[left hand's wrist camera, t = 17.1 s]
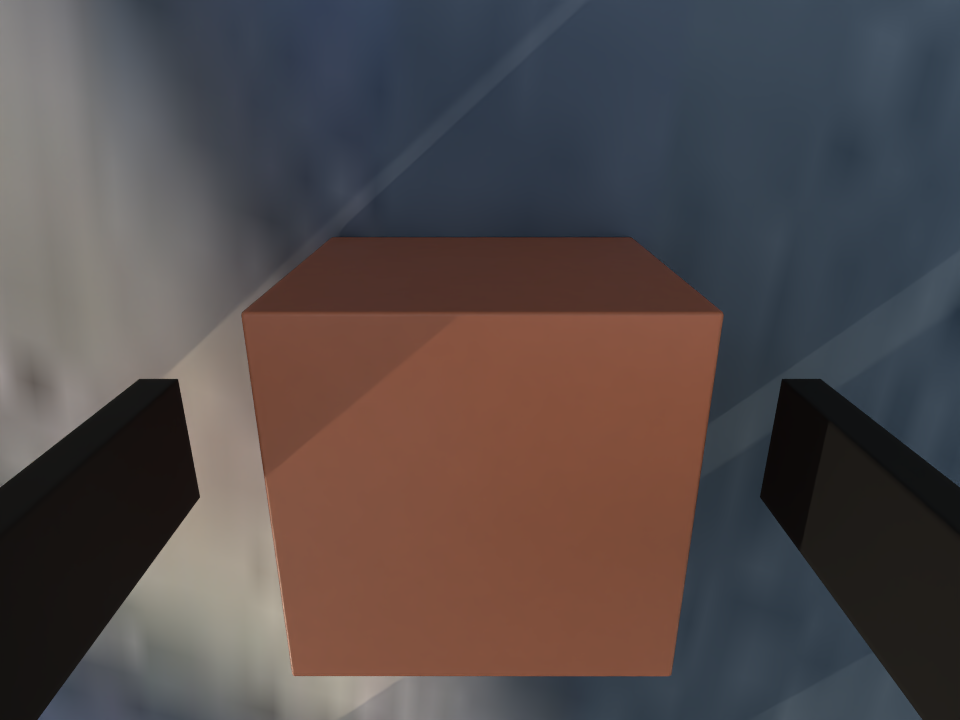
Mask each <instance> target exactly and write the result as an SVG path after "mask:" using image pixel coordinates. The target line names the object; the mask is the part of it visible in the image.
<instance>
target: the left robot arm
mask: <svg viewBox="0 0 960 720" xmlns="http://www.w3.org/2000/svg"><path fill="white" fill-rule="evenodd" d="M199 498H200V494H199V489H198V484H197V478H196V473H195V468H194V462H193V457H192V452H191V446H190V441H189V436H188V430H187V425H186V420H185V414H184V409H183V403H182V398H181V393H180V387H179V382H178V379H139V380H138V381H136V382H135V383H134V384H133V385H131V386H130V387H129V388H127V389H126V390H125V391H124V392H122V393H121V394H120V395H118V396H117V397H116V398H115V399H113V400H112V401H111V402H109V403H108V404H107V405H106V406H104V407H103V408H102V409H100V410H99V411H98V412H97V413H95V414H94V415H93V416H91V417H90V418H89V419H88V420H86V421H85V422H84V423H82V424H81V425H80V426H79V427H77V428H76V429H75V430H73V431H72V432H71V433H70V434H68V435H67V436H66V437H64V438H63V439H62V440H61V441H59V442H58V443H57V444H55V445H54V446H53V447H52V448H50V449H49V450H48V451H47V452H45V453H44V454H43V455H41V456H40V457H39V458H38V459H36V460H35V461H34V462H32V463H31V464H30V465H29V466H27V467H26V468H25V469H23V470H22V471H21V472H20V473H18V474H17V475H16V476H14V477H13V478H12V479H11V480H9V481H8V482H7V483H5V484H4V485H3V486H2V487H0V720H37V719H38V718H39V717H40V715H41V714H42V713H43V711H44V710H45V709H46V707H47V706H48V704H49V703H50V702H51V700H52V699H53V698H54V696H55V695H56V693H57V692H58V691H59V689H60V688H61V687H62V685H63V684H64V683H65V681H66V680H67V678H68V677H69V676H70V674H71V673H72V672H73V670H74V669H75V667H76V666H77V665H78V663H79V662H80V661H81V659H82V658H83V657H84V655H85V654H86V652H87V651H88V650H89V648H90V647H91V646H92V644H93V643H94V641H95V640H96V639H97V637H98V636H99V635H100V633H101V632H102V631H103V629H104V628H105V626H106V625H107V624H108V622H109V621H110V620H111V618H112V617H113V615H114V614H115V613H116V611H117V610H118V609H119V607H120V606H121V605H122V603H123V602H124V600H125V599H126V598H127V596H128V595H129V594H130V592H131V591H132V589H133V588H134V587H135V585H136V584H137V583H138V581H139V580H140V579H141V577H142V576H143V574H144V573H145V572H146V570H147V569H148V568H149V566H150V565H151V563H152V562H153V561H154V559H155V558H156V557H157V555H158V554H159V553H160V551H161V550H162V548H163V547H164V546H165V544H166V543H167V542H168V540H169V539H170V537H171V536H172V535H173V533H174V532H175V531H176V529H177V528H178V527H179V525H180V524H181V522H182V521H183V520H184V518H185V517H186V516H187V514H188V513H189V511H190V510H191V509H192V507H193V506H194V505H195V503H196V502H197V500H198V499H199ZM760 498H761V499H762V500H763V502H764V503H765V505H766V506H767V507H768V509H769V510H770V511H771V513H772V514H773V516H774V517H775V518H776V520H777V521H778V522H779V524H780V525H781V526H782V528H783V529H784V531H785V532H786V533H787V535H788V536H789V537H790V539H791V540H792V542H793V543H794V544H795V546H796V547H797V548H798V550H799V551H800V552H801V554H802V555H803V557H804V558H805V559H806V561H807V562H808V563H809V565H810V566H811V568H812V569H813V570H814V572H815V573H816V574H817V576H818V577H819V578H820V580H821V581H822V583H823V584H824V585H825V587H826V588H827V589H828V591H829V592H830V594H831V595H832V596H833V598H834V599H835V600H836V602H837V603H838V605H839V606H840V607H841V609H842V610H843V611H844V613H845V614H846V615H847V617H848V618H849V620H850V621H851V622H852V624H853V625H854V626H855V628H856V629H857V631H858V632H859V633H860V635H861V636H862V637H863V639H864V640H865V641H866V643H867V644H868V646H869V647H870V648H871V650H872V651H873V652H874V654H875V655H876V657H877V658H878V659H879V661H880V662H881V663H882V665H883V666H884V667H885V669H886V670H887V672H888V673H889V674H890V676H891V677H892V678H893V680H894V681H895V683H896V684H897V685H898V687H899V688H900V689H901V691H902V692H903V693H904V695H905V696H906V698H907V699H908V700H909V702H910V703H911V704H912V706H913V707H914V709H915V710H916V711H917V713H918V714H919V715H920V717H921V718H922V719H923V720H960V487H958V486H957V485H956V484H955V483H953V482H952V481H951V480H949V479H948V478H947V477H946V476H944V475H943V474H942V473H940V472H939V471H938V470H937V469H935V468H934V467H933V466H931V465H930V464H929V463H928V462H926V461H925V460H924V459H922V458H921V457H920V456H919V455H917V454H916V453H915V452H914V451H912V450H911V449H910V448H908V447H907V446H906V445H905V444H903V443H902V442H901V441H899V440H898V439H897V438H896V437H894V436H893V435H892V434H890V433H889V432H888V431H887V430H885V429H884V428H883V427H881V426H880V425H879V424H878V423H876V422H875V421H874V420H872V419H871V418H870V417H869V416H867V415H866V414H865V413H863V412H862V411H861V410H860V409H858V408H857V407H856V406H854V405H853V404H852V403H851V402H849V401H848V400H847V399H845V398H844V397H843V396H842V395H840V394H839V393H838V392H836V391H835V390H834V389H833V388H831V387H830V386H829V385H827V384H826V383H825V382H824V381H822V380H821V379H782V382H781V387H780V393H779V398H778V404H777V409H776V414H775V420H774V425H773V430H772V436H771V441H770V446H769V452H768V457H767V462H766V468H765V473H764V478H763V484H762V489H761V495H760Z"/></svg>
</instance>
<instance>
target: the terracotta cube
mask: <svg viewBox="0 0 960 720" xmlns="http://www.w3.org/2000/svg"><path fill="white" fill-rule="evenodd" d="M241 316H242V323H243V330H244V337H245V344H246V351H247V358H248V365H249V372H250V379H251V386H252V393H253V400H254V407H255V414H256V421H257V428H258V435H259V443H260V450H261V457H262V464H263V471H264V478H265V485H266V492H267V499H268V506H269V513H270V520H271V527H272V534H273V541H274V548H275V555H276V562H277V569H278V576H279V583H280V590H281V598H282V605H283V612H284V619H285V626H286V633H287V640H288V647H289V654H290V661H291V668H292V674H293V675H294V676H670V675H671V673H672V667H673V660H674V653H675V646H676V639H677V632H678V625H679V618H680V611H681V605H682V598H683V591H684V584H685V577H686V570H687V563H688V556H689V549H690V542H691V536H692V529H693V522H694V515H695V508H696V501H697V494H698V487H699V480H700V474H701V467H702V460H703V453H704V446H705V439H706V432H707V425H708V418H709V411H710V405H711V398H712V391H713V384H714V377H715V370H716V363H717V356H718V349H719V343H720V336H721V329H722V322H723V312H722V311H720V310H719V309H718V308H717V307H716V306H714V305H713V304H712V303H711V302H710V301H708V300H707V299H706V298H705V297H703V296H702V295H701V294H700V293H699V292H697V291H696V290H695V289H694V288H692V287H691V286H690V285H689V284H688V283H686V282H685V281H684V280H683V279H681V278H680V277H679V276H678V275H677V274H675V273H674V272H673V271H672V270H670V269H669V268H668V267H667V266H666V265H664V264H663V263H662V262H661V261H659V260H658V259H657V258H656V257H655V256H653V255H652V254H651V253H650V252H649V251H647V250H646V249H645V248H644V247H642V246H641V245H640V244H639V243H638V242H636V241H635V240H634V239H633V238H631V237H332V238H331V239H329V240H328V241H327V242H326V243H325V244H323V245H322V246H321V247H320V248H319V249H317V250H316V251H315V252H314V253H313V254H311V255H310V256H309V257H308V258H307V259H305V260H304V261H303V262H302V263H301V264H299V265H298V266H297V267H296V268H295V269H293V270H292V271H291V272H290V273H289V274H287V275H286V276H285V277H284V278H283V279H281V280H280V281H279V282H278V283H277V284H275V285H274V286H273V287H272V288H271V289H269V290H268V291H267V292H266V293H265V294H263V295H262V296H261V297H260V298H259V299H257V300H256V301H255V302H254V303H253V304H251V305H250V306H249V307H248V308H247V309H245V310H244V311H243V312H242V315H241Z"/></svg>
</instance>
